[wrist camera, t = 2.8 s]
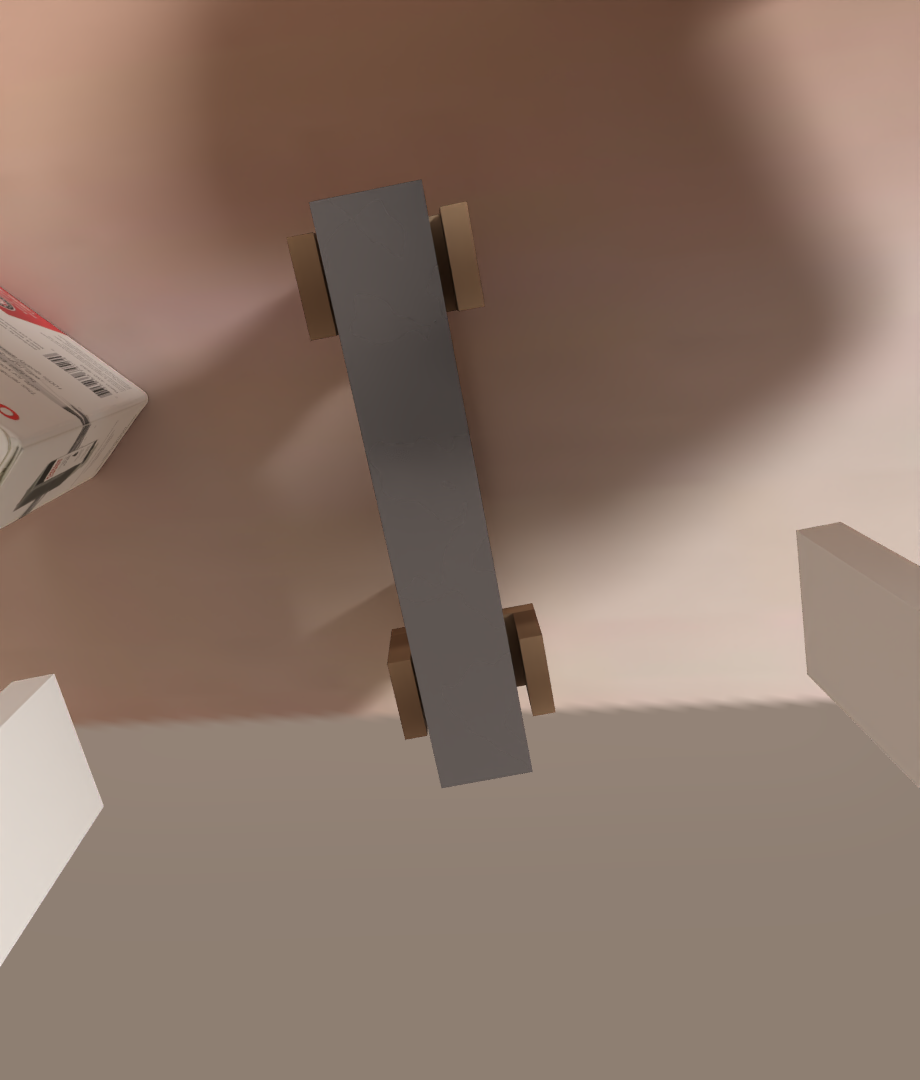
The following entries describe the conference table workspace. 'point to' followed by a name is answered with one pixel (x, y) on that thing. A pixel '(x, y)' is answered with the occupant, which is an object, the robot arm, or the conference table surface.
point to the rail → (423, 474)
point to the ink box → (53, 411)
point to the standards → (459, 295)
